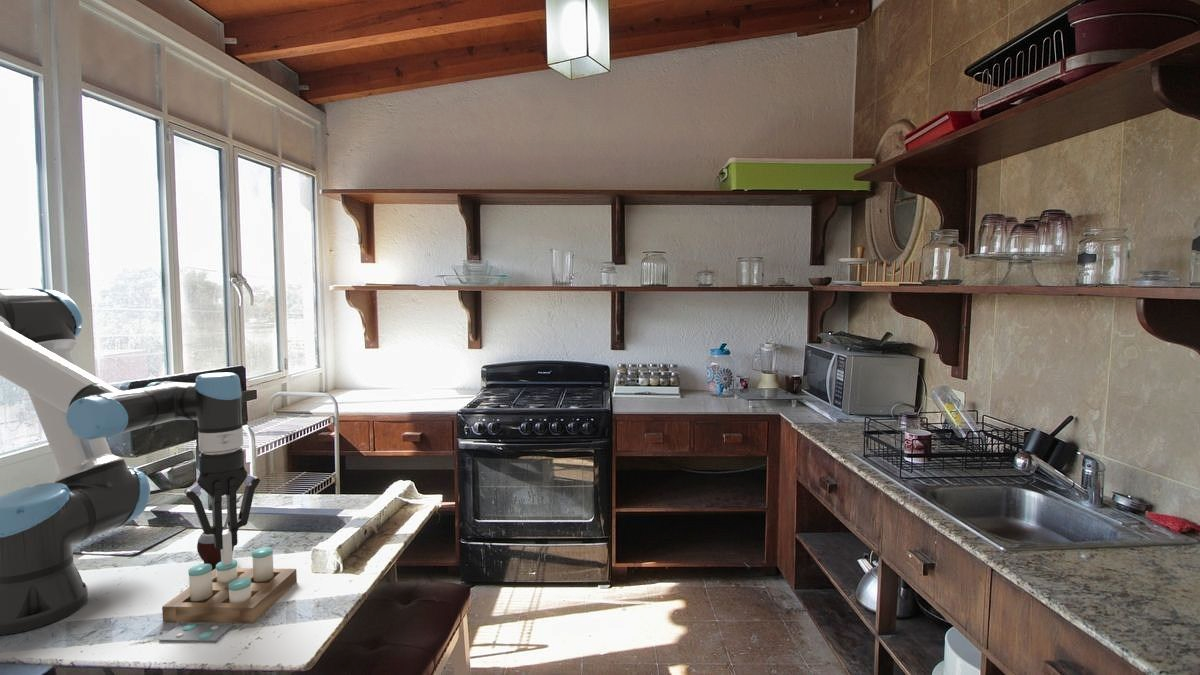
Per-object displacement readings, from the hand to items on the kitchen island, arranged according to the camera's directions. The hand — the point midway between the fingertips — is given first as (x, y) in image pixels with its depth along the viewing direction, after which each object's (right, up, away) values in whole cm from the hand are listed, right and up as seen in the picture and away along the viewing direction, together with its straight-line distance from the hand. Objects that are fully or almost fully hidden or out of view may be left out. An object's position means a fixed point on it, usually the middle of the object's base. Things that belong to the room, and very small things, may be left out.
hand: (226, 562), depth 118 cm
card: (+4, -7, -14) cm, 16 cm away
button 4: (+7, -3, 0) cm, 8 cm away
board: (+4, -6, -3) cm, 8 cm away
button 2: (0, -6, 0) cm, 6 cm away
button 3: (+7, -6, -7) cm, 12 cm away
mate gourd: (-9, -5, +12) cm, 16 cm away
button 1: (0, -4, -7) cm, 8 cm away
